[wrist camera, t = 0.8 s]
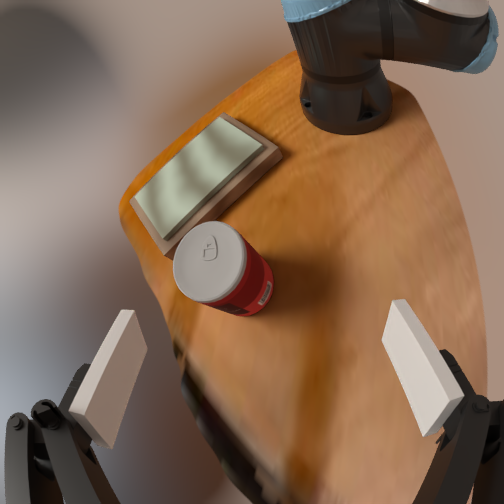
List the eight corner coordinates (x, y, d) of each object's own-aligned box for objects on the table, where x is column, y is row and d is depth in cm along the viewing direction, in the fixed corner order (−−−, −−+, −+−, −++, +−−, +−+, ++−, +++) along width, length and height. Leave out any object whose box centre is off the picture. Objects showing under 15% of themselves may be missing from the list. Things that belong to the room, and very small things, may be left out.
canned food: (266, 247, 38) (234, 208, 28) (283, 306, 35) (254, 286, 25) (213, 267, 39) (167, 237, 30) (225, 324, 36) (178, 311, 26)
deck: (229, 121, 48) (221, 108, 45) (282, 157, 42) (276, 142, 39) (137, 207, 48) (125, 198, 45) (173, 260, 42) (159, 253, 39)
